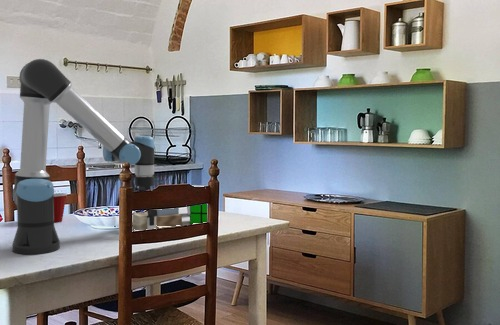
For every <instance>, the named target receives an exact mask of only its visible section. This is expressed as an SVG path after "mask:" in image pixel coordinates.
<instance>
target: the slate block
mask: <svg viewBox="0 0 500 325" xmlns="http://www.w3.org/2000/svg"><path fill="white" fill-rule="evenodd" d="M179 209H180V208H174V209H162V210H157V215H158V216H164V215H174V214H180V212H179V211H180V210H179Z"/></svg>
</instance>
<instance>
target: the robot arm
mask: <svg viewBox="0 0 500 325" xmlns="http://www.w3.org/2000/svg"><path fill="white" fill-rule="evenodd" d="M19 82H20V83H19V84H20V86H19V89H20V90H19V98H20V100H22V101H23V113H22V114H23V116H22V130H21V146H20V147H21V150H20V166H19V170H18V171H17V172H16V173H14V187H13V190H12V200H13V202H14V204H15V205H16V210H17V211H16V212H17V214H16V215H17V217H16V218H17V219H16V220H17V228H16V231H15V235H14V238H13V241H12V247H11V248H12V252H13V253H15V254H20V255H22V254H23V255H38V254H40V255H41V254H47V253H51V252H55V251H58V250H59V249H60V247H61V241H60V238H59V235H58V233H57V230H56V227H55V223H54V194H55V189H54V183H53V182H52V181H51V180H50V174H49V173H48V171H47V168H46V167H47V155H48V154H47V153H48V139H49V138H48V137H49V121H50V107H51V106H50V105H51V104H52V103H54V104H55V103H56V104H57V105H58V106H59V107H60V108H61V109H62V110H63V111H65V112H66V113H67V114H68V115H69V116H70V117H71V118H72V119H73V120H74V121H75V122H76V123H78V124H79V125H80V126H81V127H82V128H83V129H84V130H85V131H86V132H88V134H90V135H91V136H92V137H93V138H94V139H95V140H96V141H97V142H98V143H100V144H101V145H102V156H103V160H104V161H105V162H108V163H109V162H111V163H113V162H114V163H115V162H118V163H121V164H123V163H124V162H129V163H130V165H129V166H133V165H134V175H135V177H134V185H135V187H134V192H135V191H146V190H151V191H152V189H151V187H153V186H154V185H155V176H154V175H155V169H156V167H155V140H154V136H153V137H152V136H150V135H148V136H146V135H143V136H142V135H141V136H140V135H138V136H135V137H134V140H133V141H130V140H129V139H127V138H126V136H124V135H123V134H122V133H121V132H120V131H119V130H118V129H117V128H116V127H115V126H113V124H112V123H111V122H110V121H108V119H106V118H105V117H104V116H103V115H102V114H101V113H100V112H99V111H98V110H97V109H96V108H95V107H94V106H93V105H92V104H90V103H89V102H88V101H87V99H86V98H84V97H83V96H82V95H81V94H80V93H79V92H78V91H77V90H76V89H75V88H74V87H73V86H72V82H71V80H69V78H68V77H66V76H65V74H64V73H63V72H62V71H61V70H60V69H59V68H58V67H57V66H56V65H55V64H54V63H53V62H52V61H50V60H48V59H44V58H37V59H36V58H35V59H33V60H31V61H29V62H28V63H26V64H25V65H24V66H22V68H21V70H20V72H19ZM134 212H135V213H144V211H135V210H134ZM146 212H147V213H148V216H147V229H154V217H155V216H157V210H148V211H147V210H146Z"/></svg>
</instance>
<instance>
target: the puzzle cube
mask: <svg viewBox="0 0 500 325" xmlns="http://www.w3.org/2000/svg"><path fill="white" fill-rule="evenodd" d="M203 222H207V204H202V205H195V206H190V215H189V225H192V224H193V223H203Z"/></svg>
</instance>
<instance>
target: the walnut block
mask: <svg viewBox="0 0 500 325" xmlns="http://www.w3.org/2000/svg"><path fill="white" fill-rule="evenodd" d="M156 225H157V226H176V225H182V226H183V214H180V213H179V214H174V215H164V216H158V215H157V216H156Z"/></svg>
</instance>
